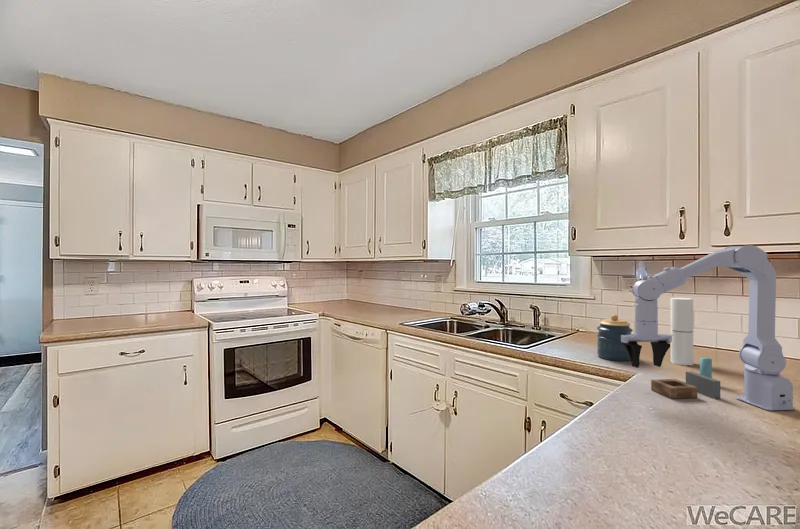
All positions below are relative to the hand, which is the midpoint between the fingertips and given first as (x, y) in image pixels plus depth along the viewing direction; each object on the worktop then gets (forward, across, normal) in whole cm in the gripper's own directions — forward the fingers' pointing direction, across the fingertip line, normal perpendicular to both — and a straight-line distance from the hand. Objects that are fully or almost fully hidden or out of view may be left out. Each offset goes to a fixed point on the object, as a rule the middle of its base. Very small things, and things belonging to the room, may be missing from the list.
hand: (646, 366), depth 115 cm
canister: (+9, -18, -44) cm, 48 cm away
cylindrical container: (+9, -38, -32) cm, 51 cm away
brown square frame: (+8, -8, 0) cm, 12 cm away
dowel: (+8, -26, -8) cm, 29 cm away
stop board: (+8, -18, 0) cm, 20 cm away
